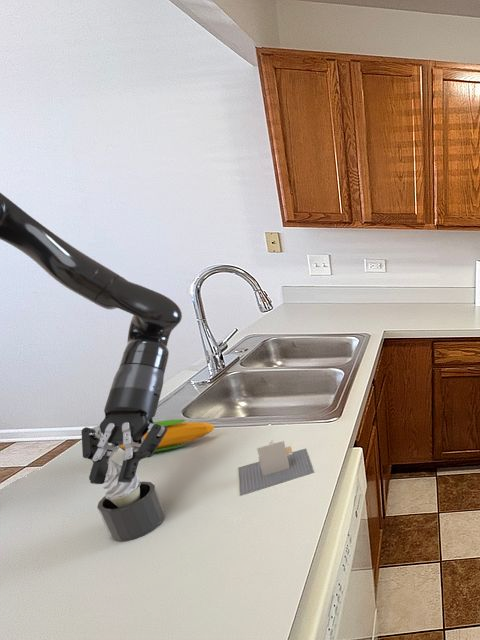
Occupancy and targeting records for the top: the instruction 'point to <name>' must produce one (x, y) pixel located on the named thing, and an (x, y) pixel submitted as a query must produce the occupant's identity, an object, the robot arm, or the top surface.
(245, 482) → the architectural model
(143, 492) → the cone holder
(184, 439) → the corn
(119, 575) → the top surface
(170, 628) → the top surface
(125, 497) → the ice cream cone
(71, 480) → the top surface
